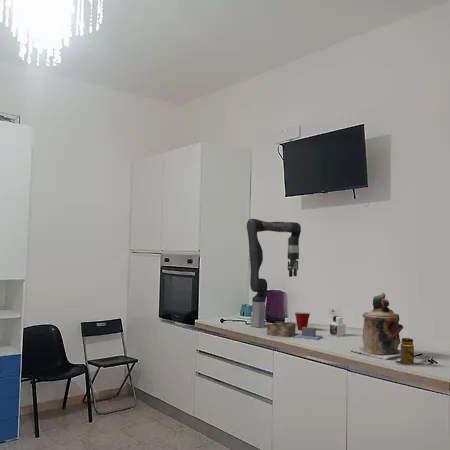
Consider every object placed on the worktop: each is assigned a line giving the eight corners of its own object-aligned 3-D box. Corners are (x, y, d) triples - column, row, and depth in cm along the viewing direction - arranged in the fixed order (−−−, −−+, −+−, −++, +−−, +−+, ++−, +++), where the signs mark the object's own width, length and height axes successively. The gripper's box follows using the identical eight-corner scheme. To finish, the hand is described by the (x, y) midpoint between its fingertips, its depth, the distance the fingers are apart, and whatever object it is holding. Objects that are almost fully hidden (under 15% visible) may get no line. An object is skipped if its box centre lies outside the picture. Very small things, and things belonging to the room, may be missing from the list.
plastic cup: (309, 328, 341) (310, 311, 342) (310, 331, 330) (311, 313, 331) (293, 328, 342) (294, 310, 343) (294, 330, 331) (294, 312, 332)
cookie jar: (347, 351, 267) (348, 292, 269) (375, 347, 282) (376, 290, 284) (388, 360, 248) (388, 296, 249) (415, 355, 263) (415, 294, 264)
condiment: (416, 365, 238) (416, 340, 239) (397, 364, 239) (397, 339, 240) (412, 362, 245) (412, 337, 246) (394, 361, 247) (395, 336, 247)
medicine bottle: (329, 334, 320) (329, 315, 320) (338, 334, 323) (338, 315, 323) (336, 336, 313) (337, 317, 314) (345, 335, 317) (345, 316, 317)
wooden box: (267, 334, 313) (267, 324, 313) (274, 332, 325) (275, 321, 325) (288, 337, 307) (288, 326, 307) (295, 334, 318) (295, 323, 318)
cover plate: (294, 338, 305) (294, 327, 306) (300, 335, 316) (300, 325, 316) (317, 340, 299) (317, 330, 299) (322, 338, 309) (322, 327, 310)
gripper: (291, 252, 341) (291, 275, 340) (284, 252, 328) (283, 276, 327) (302, 252, 337) (301, 276, 336) (295, 252, 324) (294, 277, 324)
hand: (292, 276), depth 332 cm, fingers open, 8 cm apart
